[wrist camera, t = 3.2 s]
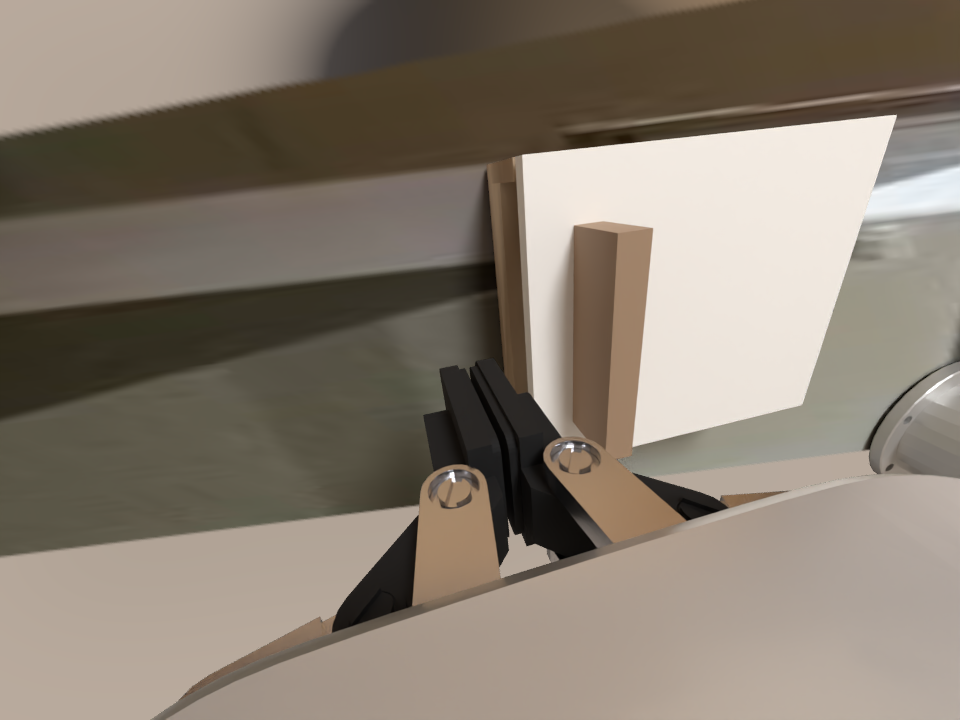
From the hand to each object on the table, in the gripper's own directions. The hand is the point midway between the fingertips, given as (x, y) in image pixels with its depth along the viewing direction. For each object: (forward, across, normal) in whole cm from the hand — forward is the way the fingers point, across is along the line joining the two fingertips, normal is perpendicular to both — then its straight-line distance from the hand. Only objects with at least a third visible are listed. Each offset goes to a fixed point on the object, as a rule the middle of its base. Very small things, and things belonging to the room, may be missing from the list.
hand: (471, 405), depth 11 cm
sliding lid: (+5, -11, 0) cm, 12 cm away
